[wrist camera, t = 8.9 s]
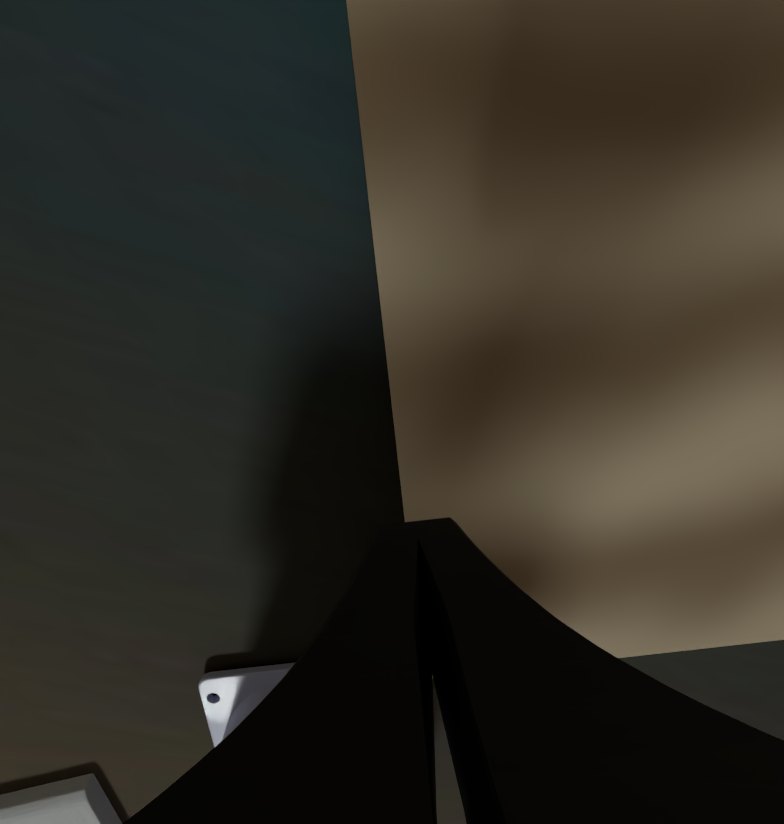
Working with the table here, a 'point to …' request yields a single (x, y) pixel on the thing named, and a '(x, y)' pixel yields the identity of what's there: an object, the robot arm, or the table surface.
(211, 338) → the table surface
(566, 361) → the riser
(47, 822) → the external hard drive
